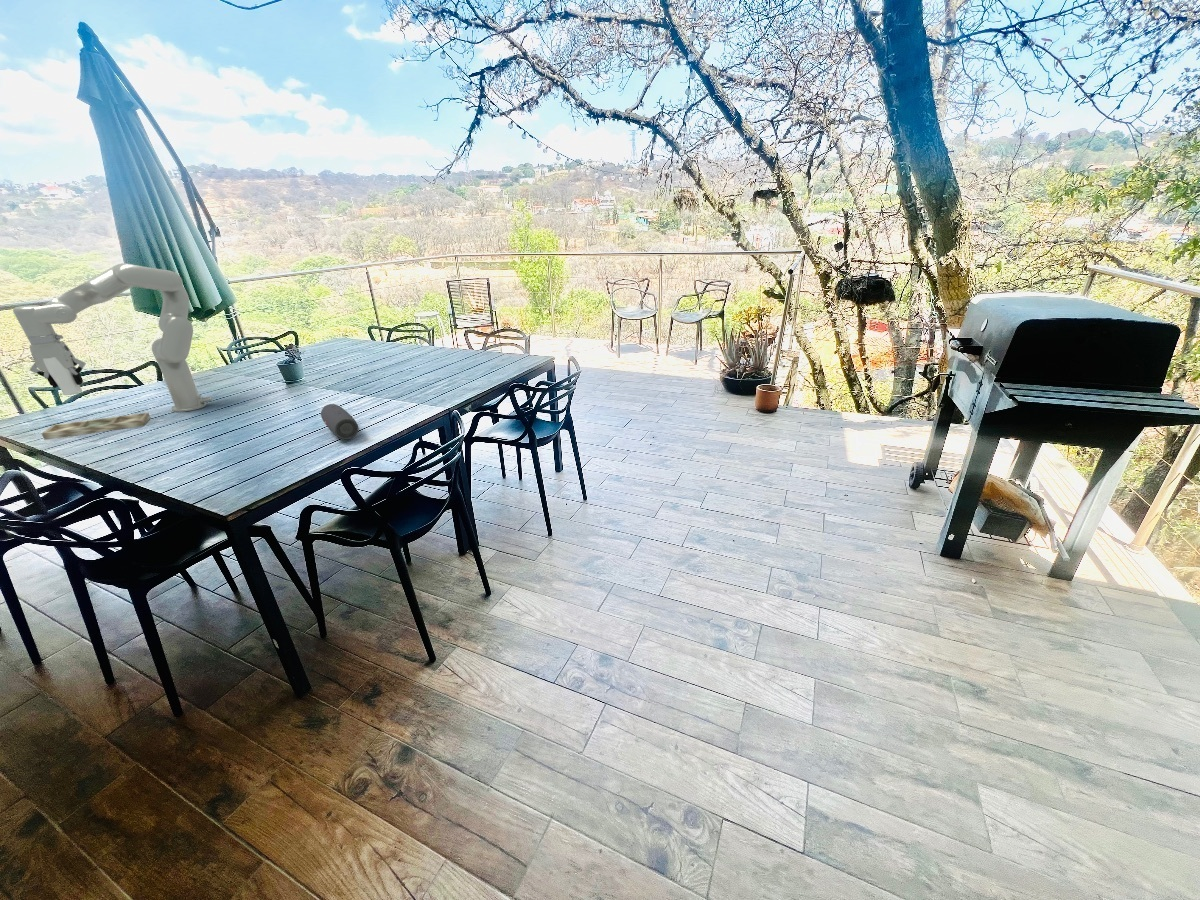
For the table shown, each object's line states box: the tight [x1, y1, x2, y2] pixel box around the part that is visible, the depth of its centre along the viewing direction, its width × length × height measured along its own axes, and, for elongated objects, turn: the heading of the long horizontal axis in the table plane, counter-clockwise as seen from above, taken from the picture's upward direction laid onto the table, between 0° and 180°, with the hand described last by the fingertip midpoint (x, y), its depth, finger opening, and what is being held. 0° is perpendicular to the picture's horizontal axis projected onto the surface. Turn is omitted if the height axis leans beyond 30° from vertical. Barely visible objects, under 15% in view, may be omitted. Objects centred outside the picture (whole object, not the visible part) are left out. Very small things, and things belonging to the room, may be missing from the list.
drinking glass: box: [43, 357, 83, 396], centre depth 185 cm, size 7×7×15 cm
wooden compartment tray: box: [41, 412, 151, 440], centre depth 195 cm, size 30×11×2 cm, turn 119°
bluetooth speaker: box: [320, 403, 360, 440], centre depth 188 cm, size 23×9×10 cm, turn 40°
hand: (68, 385), depth 187 cm, fingers closed on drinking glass, 6 cm apart
